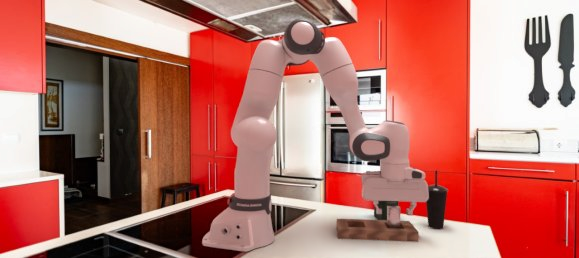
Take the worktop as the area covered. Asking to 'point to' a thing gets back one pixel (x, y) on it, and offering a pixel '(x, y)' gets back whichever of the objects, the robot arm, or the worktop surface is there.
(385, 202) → the coffee jar
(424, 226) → the worktop surface
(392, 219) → the pin
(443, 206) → the drinking cup
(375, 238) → the board
